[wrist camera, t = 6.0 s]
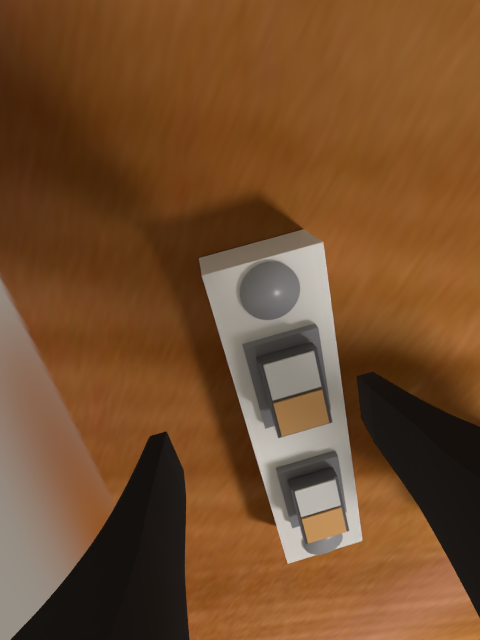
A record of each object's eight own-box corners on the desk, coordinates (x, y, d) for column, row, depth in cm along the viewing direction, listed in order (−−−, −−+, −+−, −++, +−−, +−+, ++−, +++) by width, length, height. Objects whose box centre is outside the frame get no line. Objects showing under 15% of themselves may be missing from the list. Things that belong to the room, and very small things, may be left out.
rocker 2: (344, 519, 25) (350, 532, 24) (301, 532, 25) (305, 545, 24) (332, 466, 23) (338, 477, 22) (287, 480, 23) (291, 491, 22)
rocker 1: (326, 413, 20) (333, 423, 19) (274, 428, 20) (278, 439, 19) (311, 341, 19) (317, 348, 18) (256, 357, 19) (259, 365, 18)
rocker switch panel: (346, 506, 31) (365, 547, 28) (278, 527, 31) (289, 570, 28) (304, 229, 20) (326, 244, 17) (198, 258, 20) (202, 279, 17)
